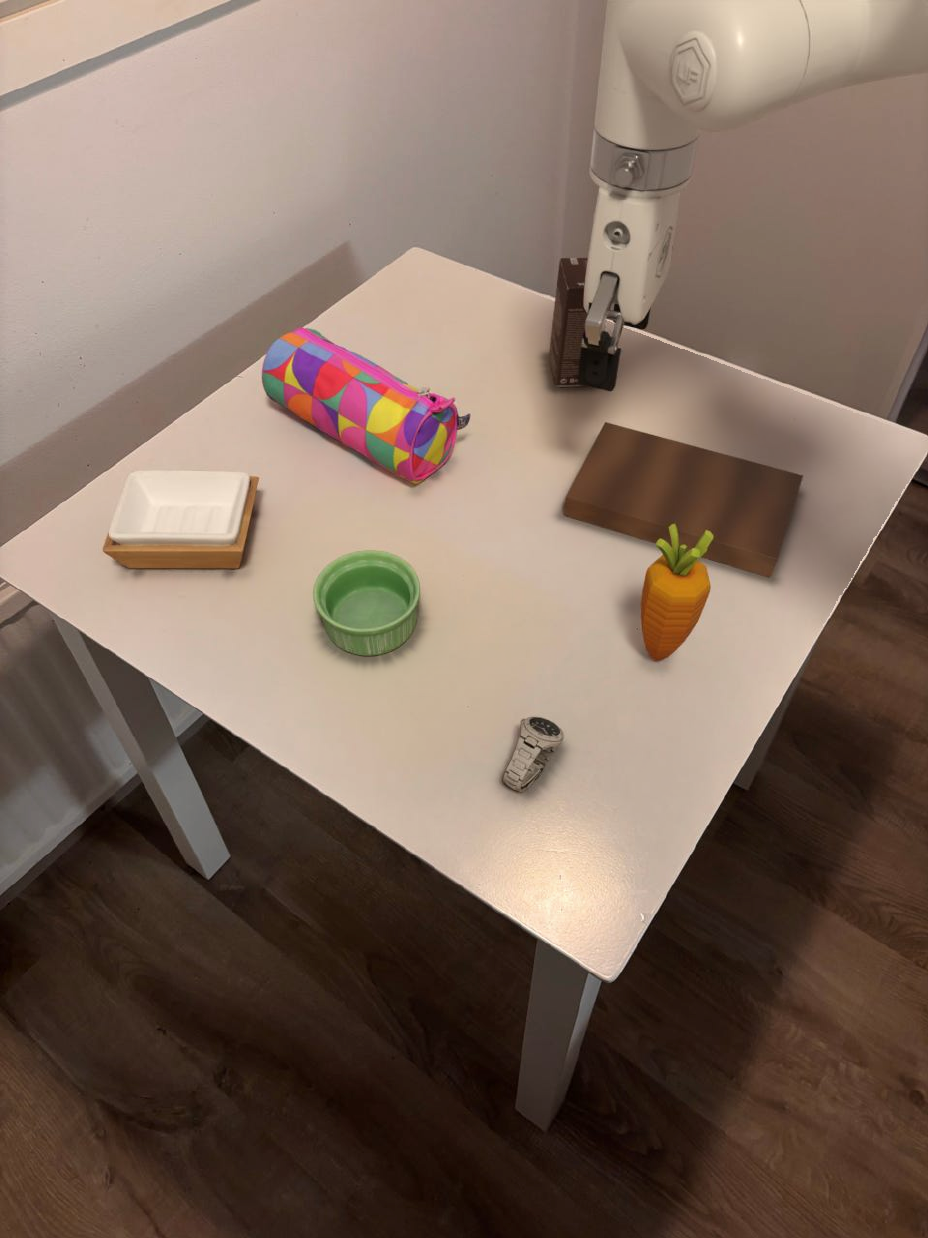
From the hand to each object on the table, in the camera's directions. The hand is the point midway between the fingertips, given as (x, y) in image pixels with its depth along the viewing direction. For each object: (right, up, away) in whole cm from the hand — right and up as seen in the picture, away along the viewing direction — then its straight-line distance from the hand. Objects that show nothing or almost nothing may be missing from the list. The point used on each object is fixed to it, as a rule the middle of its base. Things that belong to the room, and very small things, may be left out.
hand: (613, 354), depth 79 cm
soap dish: (-39, -16, +6) cm, 42 cm away
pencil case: (-23, -4, +15) cm, 28 cm away
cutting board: (+8, -12, +9) cm, 17 cm away
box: (-1, +5, +22) cm, 23 cm away
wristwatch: (-8, -35, -9) cm, 37 cm away
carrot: (+3, -27, -3) cm, 27 cm away
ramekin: (-21, -24, 0) cm, 32 cm away
